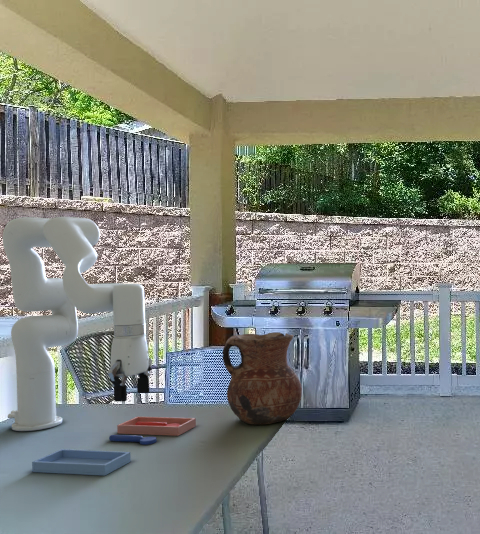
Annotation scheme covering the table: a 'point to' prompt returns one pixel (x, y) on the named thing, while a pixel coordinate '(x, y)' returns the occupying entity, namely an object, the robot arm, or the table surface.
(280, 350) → the jug
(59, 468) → the blue tray
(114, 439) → the navy spoon
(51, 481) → the table surface
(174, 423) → the red spoon
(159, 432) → the rose tray
